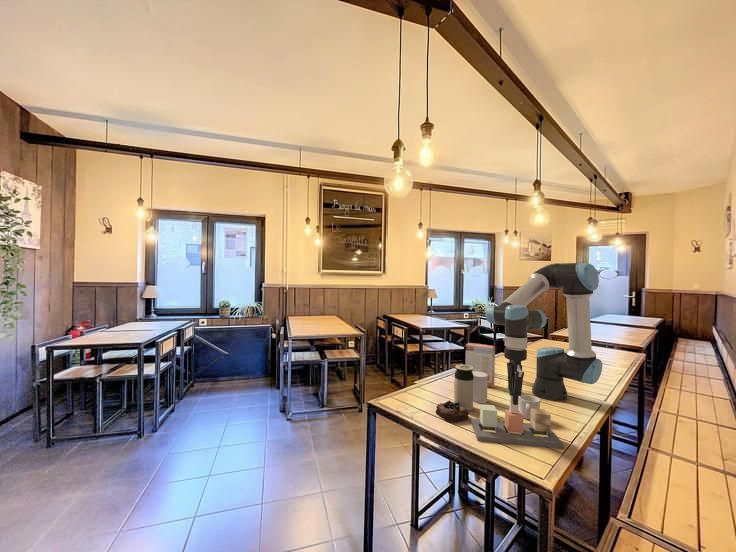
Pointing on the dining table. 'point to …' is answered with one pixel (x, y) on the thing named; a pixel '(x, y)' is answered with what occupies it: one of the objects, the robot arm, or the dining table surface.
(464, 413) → the pastry
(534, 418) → the oak block
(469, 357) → the cracker box
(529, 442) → the board
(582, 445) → the dining table surface
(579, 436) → the dining table surface
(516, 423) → the terracotta block
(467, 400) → the travel mug
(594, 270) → the robot arm
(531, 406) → the cup
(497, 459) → the dining table surface
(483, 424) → the sage block
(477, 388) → the white cylindrical canister
